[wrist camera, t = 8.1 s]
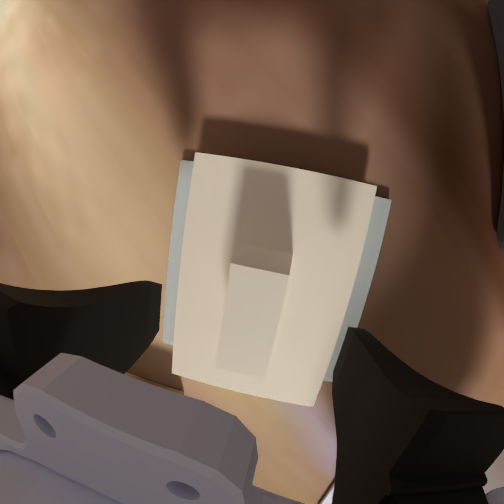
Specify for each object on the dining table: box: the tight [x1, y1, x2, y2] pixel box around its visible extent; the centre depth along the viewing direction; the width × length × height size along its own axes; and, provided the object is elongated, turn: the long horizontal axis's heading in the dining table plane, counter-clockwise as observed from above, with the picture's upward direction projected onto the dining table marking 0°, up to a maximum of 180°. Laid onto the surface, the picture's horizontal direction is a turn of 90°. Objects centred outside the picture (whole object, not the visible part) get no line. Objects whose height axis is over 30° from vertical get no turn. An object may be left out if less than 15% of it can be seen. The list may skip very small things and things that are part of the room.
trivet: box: [163, 160, 392, 382], centre depth 17 cm, size 11×11×1 cm
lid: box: [172, 152, 377, 407], centre depth 15 cm, size 9×13×5 cm
